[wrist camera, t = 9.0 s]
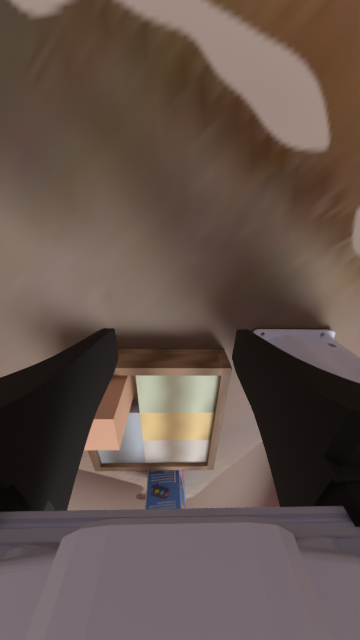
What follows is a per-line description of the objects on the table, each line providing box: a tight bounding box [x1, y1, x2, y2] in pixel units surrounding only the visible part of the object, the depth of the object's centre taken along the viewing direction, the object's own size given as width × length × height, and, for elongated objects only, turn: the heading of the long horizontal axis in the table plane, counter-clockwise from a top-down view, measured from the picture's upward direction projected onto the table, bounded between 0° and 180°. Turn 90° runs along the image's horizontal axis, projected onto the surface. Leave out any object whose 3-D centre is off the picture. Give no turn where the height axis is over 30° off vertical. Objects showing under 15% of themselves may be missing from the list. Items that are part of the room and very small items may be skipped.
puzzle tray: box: [88, 349, 232, 471], centre depth 25 cm, size 18×20×4 cm
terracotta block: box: [84, 375, 134, 450], centre depth 20 cm, size 5×5×7 cm
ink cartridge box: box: [145, 470, 186, 509], centre depth 28 cm, size 10×6×14 cm, turn 7°
